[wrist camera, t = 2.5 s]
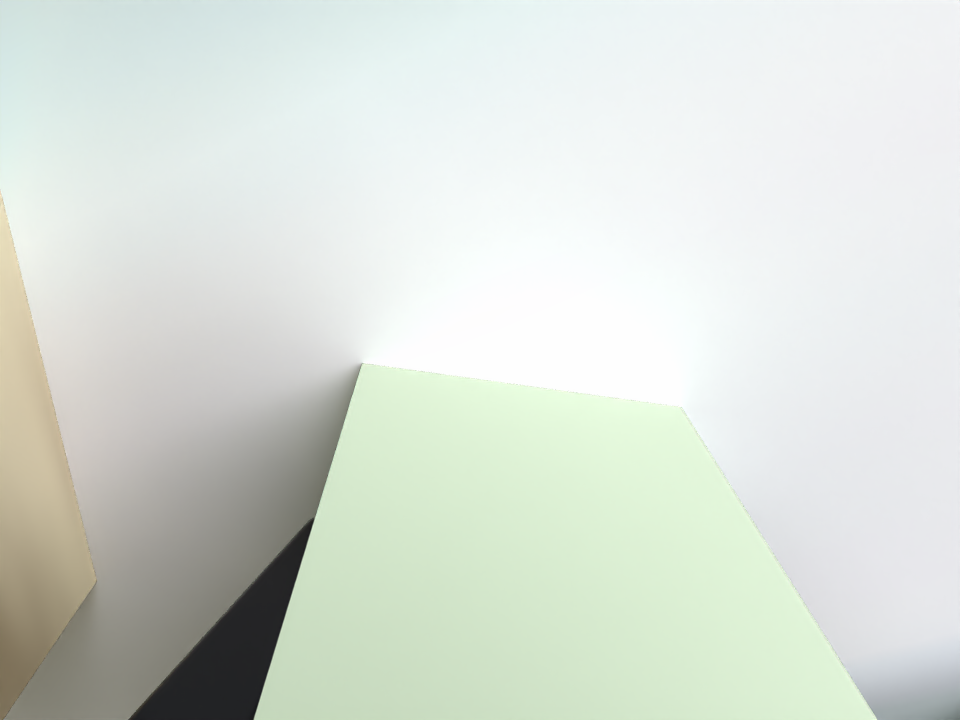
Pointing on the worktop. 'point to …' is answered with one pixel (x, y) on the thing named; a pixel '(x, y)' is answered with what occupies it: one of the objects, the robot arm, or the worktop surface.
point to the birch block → (32, 497)
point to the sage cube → (539, 570)
